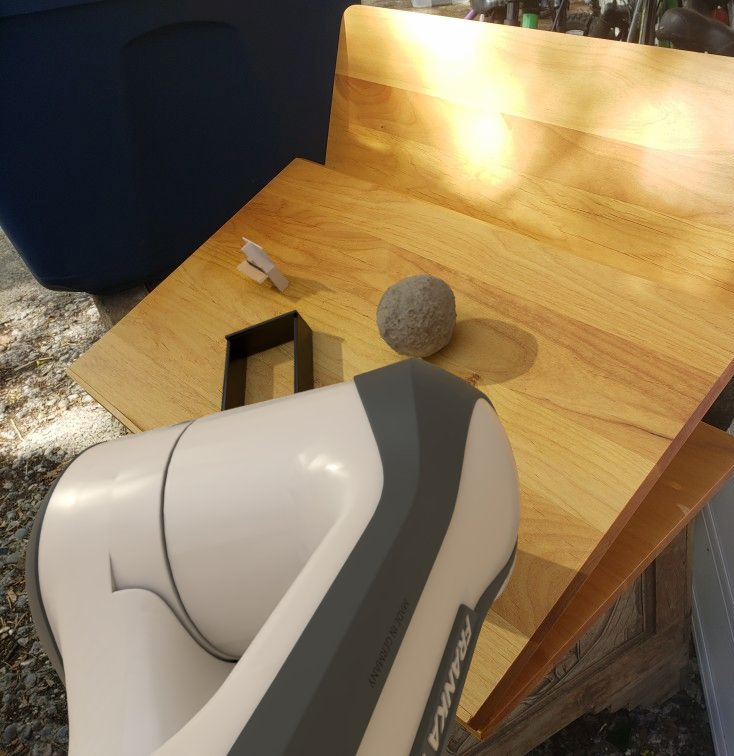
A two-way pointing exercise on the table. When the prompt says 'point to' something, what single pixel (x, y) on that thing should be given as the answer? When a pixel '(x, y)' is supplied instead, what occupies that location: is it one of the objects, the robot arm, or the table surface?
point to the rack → (261, 340)
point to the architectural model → (261, 266)
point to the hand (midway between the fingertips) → (384, 550)
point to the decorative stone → (417, 315)
